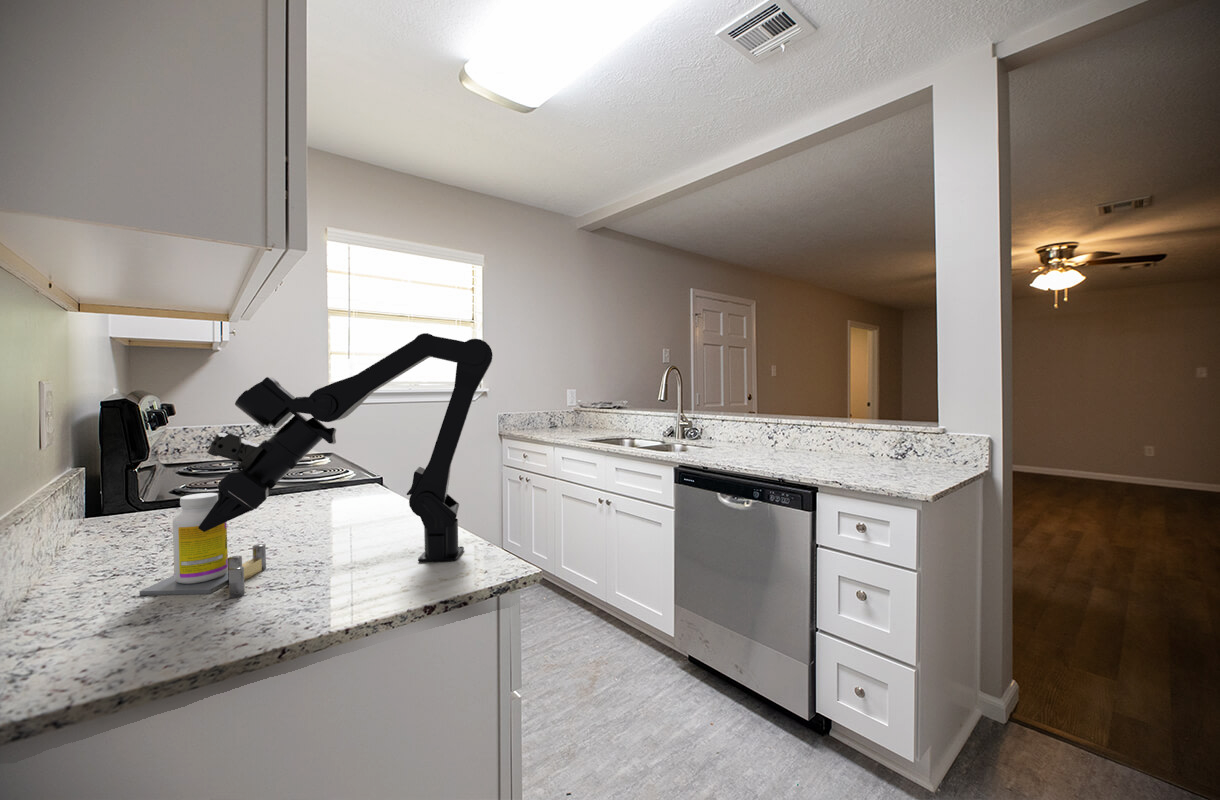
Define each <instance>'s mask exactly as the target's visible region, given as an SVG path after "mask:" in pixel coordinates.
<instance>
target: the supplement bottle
mask: <svg viewBox="0 0 1220 800" xmlns="http://www.w3.org/2000/svg"><path fill="white" fill-rule="evenodd" d="M218 499H219V493H217V492H200V493H193V494H187V495H184V496H181V497H180V498H179V506H180V507H181V512H180V513H178V514H176V516H174V517H173V519H172V544H173V546H172V547H173V550H172V552H173V575H174V578H175V581H176V582H178V583H182V584H193V583H200V582H205V581H209V580H213V579H216V578H218V577H221V576H223V575H224V574H225V573H226V572H227V571H228V558H229V553H228V551H229V550H228V528H227V522H225V523H223V524H221V525H218V526H216V527H214V528H212V529H210V530H208V531H205V532H203V531H202V530H200V529H199V528H198V527H199V525H200V524H201V523H202V521H203V520H204V519H205V517H206V516H207V514H208V513H209V512H210V510H211V509H212V508H213V506H214V505H215V503H216V502H217V501H218Z"/></svg>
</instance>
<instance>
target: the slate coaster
mask: <svg viewBox="0 0 1220 800" xmlns="http://www.w3.org/2000/svg"><path fill="white" fill-rule="evenodd" d="M226 585H228V571H227V572H226V573H225V574H224V575H223V576H221V577H218V578H216V579H213V580H209V581H205V582H200V583H193V584H182V583H178V582H176V581H175V578H174V574H173V575H171V576H170V577H168V578H164V579H163V580H161V581H158V582H157V583H154V584H152V585H150V586H148V587H145V588H143V589H141V590H139V593H138V594H139V596H162V595H163V596H164V595H165V596H167V595H168V594H169V596H170V594H171V595H203V594H204V595H205V594H208V595H210V594H212V593H214V592H216V591H218V590H220V589H221V588H223V587H224V586H226ZM217 589H218V590H217Z"/></svg>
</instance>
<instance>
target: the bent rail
mask: <svg viewBox="0 0 1220 800" xmlns="http://www.w3.org/2000/svg"><path fill="white" fill-rule="evenodd" d="M266 552H267V550H266V544H265V543H257V544H254V545H252V558H251V559H250V560H248V561H246V562H244V563H243V557H242V555H233V556H228V584H227V585H228V588H229V597H228V598H230V599H239V598H241V597H243V596H245V594H246V593H245V581H246V580H248V579H250V578H252V577H253V576H254V575H256V574H258V573H260V572H262V571H264V570H266V569H267V553H266Z"/></svg>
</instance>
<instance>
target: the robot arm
mask: <svg viewBox="0 0 1220 800" xmlns="http://www.w3.org/2000/svg"><path fill="white" fill-rule="evenodd" d="M493 355H494V354H493V351H492V348H491V346H490V345H489V344H488V343H487V342H486V341H485V340H483V339H480V338H470V339H468V340H466V341H462V340H457V339H453V338H452V339H451V338H447V337H441V336H437V335H436V336H435V335H433V334H430V333H427V332H426V333H420V334H418V335H417V336H416V337H415V338H414V339H413V340H411V341H409V342H408V343H407V344H405V345H403V346H401V347H400V348H398V349H396V350H394V351H393V352H392V353H390V354H388V355H387V356H385V357H383V358H381V359H380V360H378V361H377V362H375V363H374V364H372V365H369V367H367V368H365V369H363V370H362V371H360V372H359V373H357V374H355V375H352V376H349V377H347V378H343V379H341V380H338V381H336V382H332V383H330V384H327V385H325V386H323V387H320V388H317V389H316V390H314V391H313V392H311V394H310V395H309V396H296V397H295V396H294V395H293V394H291V392H289V391H288V390H287V389H286V388H284V387H283V386H282V385H281V384H280V382H278V381H277V380H276V379H275V378H274V377H272V376H266V377H265V378H264V379H263V380H262V381H260V382H258V383H256V384H254V385H253V386H251V387H250V388H248V389H246V390H244V391H243V392H242V393H241V394H240V395H239V396H238V398H237V399H236V401H235V403H234V405H235V406H236V407H237V408H238V409H240V410H241V411H242V412H243V413H244V414H246V415H247V416H248V417H249V418H251V419H252V420H253V421H254V422H256V423H257V424H258V425H259V426H260V427H261V428H263V429H268V428H271V426H272V428H274V429H277V428H279V427H280V426H282V425H283V426H282V427H281V428H279V429H278V431H276V432H275V433H274V434H273V435H272V436H271V437H270V438H269V439H264V440H263V441H262V442H261V443H260V444H258V443H256V442H253V441H250V440H248V439H244V438H242V436H241V435H236V434H233V432H230V433H225V432H218V433H216V435H215V437H214V438H213V440H212V441H211V444H210V446H209V448H208V450H207V453H206V454H208V455H211V456H214V457H222V458H224V459H228V460H230V461H235V462H238V464H237V467H236V469H232V470H231V471H229V473H227V475H225V476H224V477H223V478H222V479H221V480H220V481H219V482H218V484H217V490H218V501H217V502H216V503H215V505H214V506H213V508H212V509H211V510H210V512H209V513H208V514H207V516H206V517H205V519H204V520H203V521H202V523H201V524H200V525H199V527H198V528H199V529H200V530H202V531H203V532H205V531H208V530H210V529H212V528H214V527H216V526H218V525H221V524H223V523H225V522H226V523H227V522H230V521H231V520H234V519H237V518H238V517H240V516H242V515H245V514H246V513H247V514H248V513H249V512H252V511H255V510H257V509H258V508H259V507H260V506H261V505H262V504H263V503H264V502H265V501H266V500H267V498H268V497H269V496H270V495H269V491H270V490H272V489H273V488H274V487H275V486H276V485H277V484H278V483H279V481H280V480H281V479H282V478H284V477H285V476H286V475H287V474H288V473H289V472H290V470H293V469H294V468H295V467H296V466H298V465H297V464H298V463H299V462H300V461H301V460H302V459H303V458H304V457H305V456H306V455H308V454H309V452H311V451H312V450H313V449H314V447H316V446H317V445H318V444H319V443H320V442H321V441H323V440H324V441H326V443H328V444H330V445H335V444H336V443H337V441H336V432H337V428H335V427H327V426H326V425H324V424H323V423H324V422H325V423H332V422H335V421H341V420H343V419H345V418H348V416H350V414H352V413H353V412H354V411H355V410H357V409H358V408H359V407H360V406H361V405H362V404H363V403H364V402H365V401H366V400H367V399H368V397H370V396H371V395H372V394H373V393H374V392H375V391H378V390H379V389H381V388H382V387H384V386H385V385H387V384H389V383H390V382H392V381H393V380H395V379H397V378H399V377H400V376H402V375H403V374H405V373H407V372H408V371H410V370H411V369H413V368H414V367H416V366H418V365H419V364H421V363H422V362H425V360H427V359H429V358H434V359H437V360H438V359H439V360H444V361H448V362H452V363H456V366H455V378H454V387H453V389H452V392H451V395H450V399H449V402H448V405H447V408H446V411H445V414H444V417H443V420H442V423H441V425H440V429H439V432H438V435H437V438H436V442H435V445H434V446H433V449H432V452H431V456H430V459H429V462H428V464H427V465H426V467H425V468H424V467H421V466H418V467H417V468H416V470H414V472H413V478H412V484H411V487H410V488H409V490H408V492H406V495H407V496H409V495H410V497H409V500H408V501H409V502H408V504H409V505H408V506H409V507H410V509H411V511H412V513H414V514H415V515H416V516H418V517H420V520H421V522H422V525H423V527H424V528H423V530H424V532H423V533H424V534H423V535H424V539H423V540H424V551H423V552H422V553H421V555H420V556H419V557H418V558H417V561H418V562H443V561H446V562H451V561H456V560H457V559H458V558H459V557H460V555H461V554H462V553H463V552H464V550H465V547H464V546H459V520H458V519H459V518H457V515H458V511H459V508H460V503H459V502H458V501H456V499H454V498H453V497H452V496H450V494H449V493H448V491H449V484H450V476H451V466H452V463H453V459H454V456H455V453H456V450H457V448H458V444H459V441H460V438H461V435H462V433H463V430H464V426H465V423H466V421H467V418H468V414H469V411H470V408H471V405H472V402H473V399H474V397H475V396H474V395H475V393H476V392H477V389H478V388H479V386H480V384H481V383H482V381H483V379H484V377H485V375H486V373H487V372H488V369H489V368H490V366H491V364H492V362H493V357H494V356H493ZM302 414H307V415H310V416H311V418H309V419H307V418H306V417H305V416H304V415H302ZM291 417H292V418H291ZM290 418H291V419H290ZM322 422H323V423H322ZM461 552H462V553H461Z"/></svg>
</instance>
